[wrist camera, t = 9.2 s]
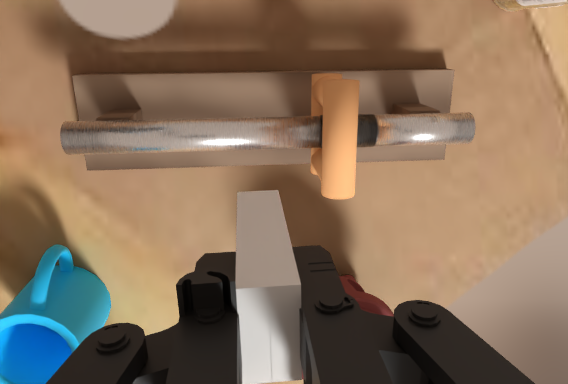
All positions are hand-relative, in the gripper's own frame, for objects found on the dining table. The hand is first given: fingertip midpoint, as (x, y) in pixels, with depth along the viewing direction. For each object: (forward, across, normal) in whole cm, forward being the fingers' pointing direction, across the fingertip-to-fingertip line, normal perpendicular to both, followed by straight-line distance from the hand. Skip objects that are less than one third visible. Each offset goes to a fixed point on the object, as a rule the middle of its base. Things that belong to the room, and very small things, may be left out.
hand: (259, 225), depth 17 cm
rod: (+19, +2, 0) cm, 19 cm away
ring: (+22, +6, 0) cm, 22 cm away
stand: (+25, +2, 0) cm, 25 cm away
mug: (+25, -18, -16) cm, 35 cm away
